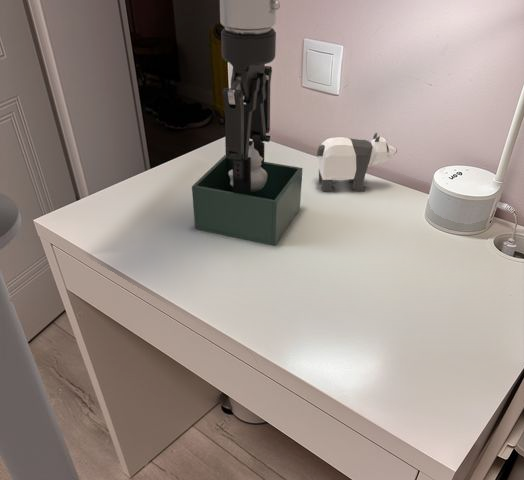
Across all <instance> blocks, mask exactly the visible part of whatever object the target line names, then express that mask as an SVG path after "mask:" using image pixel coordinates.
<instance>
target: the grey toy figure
mask: <svg viewBox="0 0 524 480" xmlns="http://www.w3.org/2000/svg"><path fill="white" fill-rule="evenodd" d="M248 157H251V192H254V191H258V190H261V189H262V188H263V187H264V185H265V183H266V181H267V172H266V171H265V170H264V169H263V168H262V167H260V166H261V164H262V163H261V161H262V160H263V158H262V157H261V156H260V155H259V152H258V151H257V150H256V149H254V142H253V143H252V145H251V146H250V145H249V152H248ZM229 177H230V179H231V182H230V184H231V186H233V170H230V171H229Z"/></svg>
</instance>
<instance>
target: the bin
mask: <svg viewBox="0 0 524 480" xmlns="http://www.w3.org/2000/svg"><path fill="white" fill-rule="evenodd" d="M230 170H233V159H228V158H226V154H224V155H223V156H222V157H221V158H220V159H219V160H218V161H217V162H216V163H215V164H214V165H213V166H211V167H210V169H209V170H207V171H206V172H204V174H203V175H202V176H201V177H200V178H199V179H197V181H196V182H195V183H193V185H191V193H192V194H191V195H192V207H193V219H194V220H193V221H194V229H195V230H200V231H204V232H209V233H214V234H218V235H222V236H227V237H232V238H233V237H234V238H238V239H243V240H246V241H251V242H257V243H261V244H266V245H272V246H276V245H277V244H278V242H279V241H280V239H281V238H282V236H283V235H284V233H286V230H287V229H288V228H289V226H290V224H291V223H292V221H293V220H294V218H295V217H296V216H297V214H298V213H299V211H300V209H301V199H302V198H301V197H302V185H303V184H302V182H303V170H304V169H303V167H299V166H292V165H287V164H280V163H275V162H270V161H264V170H265V171H266V172H267V181H266V183H265V185H264V187H263V188H262V189H261V190H258V191H254V192H251V196H250V195H244V194H239V193H233V186H231V184H230V182H231V179H230V177H229V171H230Z"/></svg>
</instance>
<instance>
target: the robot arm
mask: <svg viewBox="0 0 524 480" xmlns="http://www.w3.org/2000/svg"><path fill="white" fill-rule="evenodd" d="M280 7H281V3H280V0H219V22H220V25H221V26H223V28H222V30H221V31H220V38H221V39H220V43H221V44H220V45H221V58H222V59H223V60H224V61H225V62H226V63H229V64H230V65H231V66H232V70H231V71H232V73H231V78H230V88H229V87H228V88H227V87H224V88H223V89H222V98H223V105H224V138H225V139H224V140H225V142H224V143H225V146H224V147H225V155H226V158H228V159H233V193H239V194H244V195H250V196H251V157H248V152H249V145H250V146H251V145H252V143H253V142H254V149H256V150H257V151H258V152H259V155H260V156H261V157H262V158H263V160H262V161H261V163H262V164H261V166H260V167H262V168H263V169H264V162H265V142H266V143H270V142H271V135H267V134H269V133H270V132H271V84H272V83H271V82H272V74H273V68H272V65H268V64H270V63H271V62H273V61H274V60H275V58H276V53H277V51H276V50H277V49H276V46H277V31H275V29H274V28H273V27H274V26H275V25H276V24H277V10H279V9H280Z"/></svg>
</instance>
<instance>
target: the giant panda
mask: <svg viewBox="0 0 524 480" xmlns="http://www.w3.org/2000/svg"><path fill="white" fill-rule="evenodd" d="M316 151H317V152H316V156H317V157H318V183H319V184H321V187H320V188H321V190H322V191H323V192H333V191H334V192H335V189H336V188H335V186H334V185H333V184H332V183H333V181H334V180H335V181H336V180H337V181H345V180H348V182H349V183H352V190H353V191H356V192H357V191H359V192H360V191H361V192H362V191H366V190H367V187H366V185H364V182H365V177H366V174H367V171H368V168H369V167H371V166H375V165H380V164H383V163H384V162H386V161H387V160H388V159H390V158H393V156H395V155H396V154H397V151H398V149H397V148H396V147H393V146H392V145H390V144H388V142H387V140H386V138H384V137H383V136H380V135H379V136H378V132H375V133H374V134H373V138H372V140H370V141H369V140H366V139H357V138H349V137H342V136H338V137H330V138H327V139H325V140H324V141H323V142H322V143H321V144H320V145H319V146H318V148H317V150H316Z"/></svg>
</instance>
